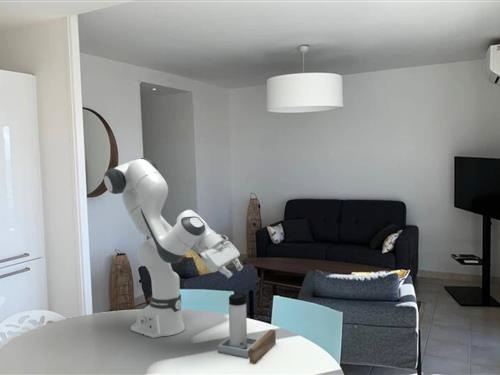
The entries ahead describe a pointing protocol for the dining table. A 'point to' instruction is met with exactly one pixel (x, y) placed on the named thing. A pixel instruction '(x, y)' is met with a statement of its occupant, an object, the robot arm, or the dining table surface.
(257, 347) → the walnut rail
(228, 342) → the slate tray
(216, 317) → the dining table surface
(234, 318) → the travel mug
